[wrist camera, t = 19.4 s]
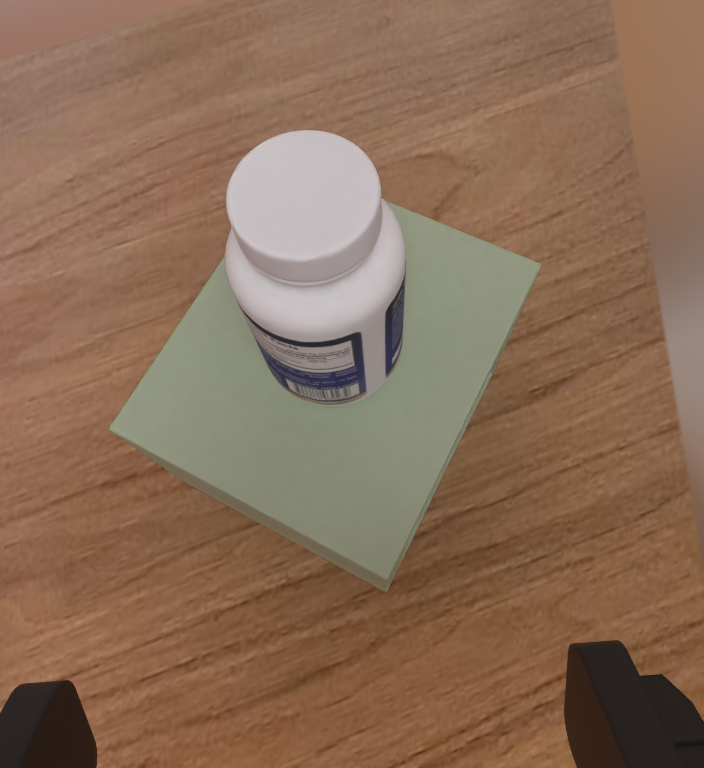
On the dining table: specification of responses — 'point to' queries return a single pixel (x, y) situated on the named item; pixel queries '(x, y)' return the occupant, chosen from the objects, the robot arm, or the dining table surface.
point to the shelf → (335, 424)
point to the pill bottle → (317, 266)
